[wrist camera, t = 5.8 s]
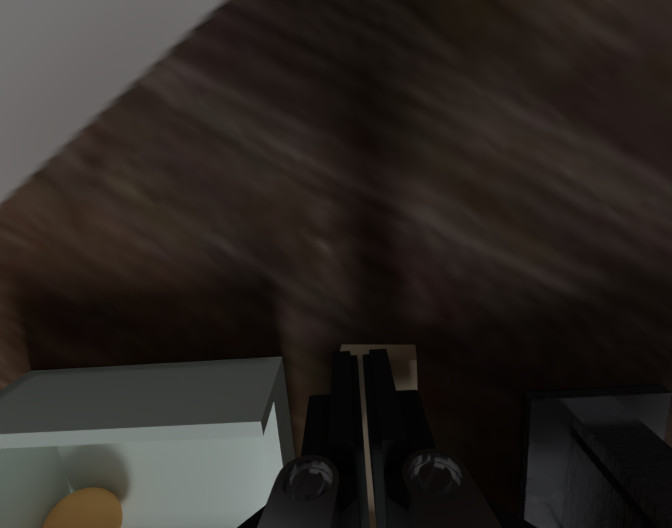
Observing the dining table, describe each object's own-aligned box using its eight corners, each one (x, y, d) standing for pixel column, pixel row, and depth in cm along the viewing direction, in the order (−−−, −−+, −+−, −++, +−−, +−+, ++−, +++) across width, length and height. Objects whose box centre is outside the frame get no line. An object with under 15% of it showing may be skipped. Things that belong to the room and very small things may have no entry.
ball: (144, 532, 19) (82, 600, 16) (98, 515, 20) (33, 576, 17) (129, 479, 18) (63, 541, 15) (83, 465, 19) (12, 520, 16)
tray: (311, 585, 21) (302, 695, 17) (100, 591, 22) (38, 699, 17) (282, 356, 17) (261, 421, 13) (30, 370, 18) (-71, 437, 14)
